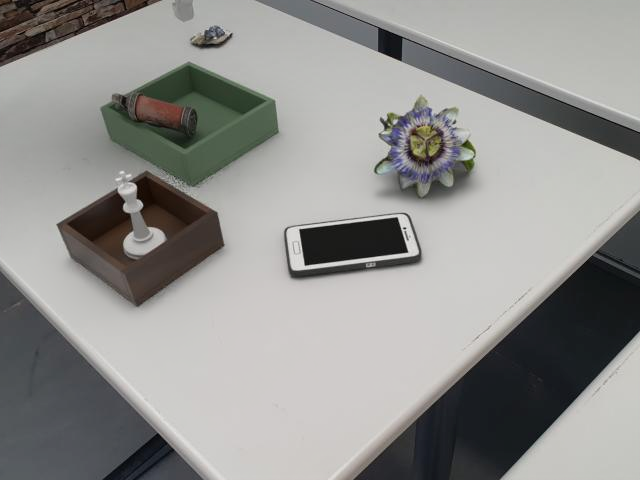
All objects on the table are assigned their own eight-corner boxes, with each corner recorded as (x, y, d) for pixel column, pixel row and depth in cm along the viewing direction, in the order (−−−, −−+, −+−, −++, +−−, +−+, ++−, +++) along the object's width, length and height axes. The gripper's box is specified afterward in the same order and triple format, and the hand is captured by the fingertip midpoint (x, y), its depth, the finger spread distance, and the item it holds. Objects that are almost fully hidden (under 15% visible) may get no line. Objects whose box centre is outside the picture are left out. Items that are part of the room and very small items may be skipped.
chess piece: (173, 249, 78) (152, 176, 71) (132, 265, 77) (106, 192, 69) (158, 225, 81) (136, 153, 74) (118, 241, 79) (91, 168, 72)
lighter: (193, 140, 94) (120, 120, 93) (199, 115, 94) (125, 95, 93) (185, 130, 86) (105, 108, 85) (192, 103, 86) (111, 81, 85)
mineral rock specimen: (187, 49, 112) (185, 38, 110) (195, 27, 117) (193, 15, 116) (228, 48, 111) (227, 36, 110) (235, 25, 117) (233, 14, 115)
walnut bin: (70, 256, 79) (55, 224, 76) (156, 202, 85) (146, 170, 82) (137, 307, 73) (124, 274, 70) (224, 245, 79) (217, 212, 76)
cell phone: (283, 233, 80) (282, 226, 79) (408, 217, 81) (409, 211, 80) (289, 279, 75) (288, 272, 74) (423, 262, 75) (423, 255, 75)
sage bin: (109, 138, 95) (99, 107, 92) (195, 91, 103) (188, 61, 99) (192, 186, 87) (184, 154, 83) (279, 131, 94) (275, 99, 91)
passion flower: (420, 228, 88) (369, 181, 79) (401, 166, 93) (352, 116, 84) (501, 182, 83) (456, 127, 74) (475, 119, 88) (431, 61, 79)
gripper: (65, -142, 76) (102, -13, 86) (154, -100, 65) (184, 43, 75) (117, -155, 79) (146, -27, 89) (211, -116, 67) (233, 24, 78)
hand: (165, 5), depth 82 cm, fingers open, 8 cm apart
